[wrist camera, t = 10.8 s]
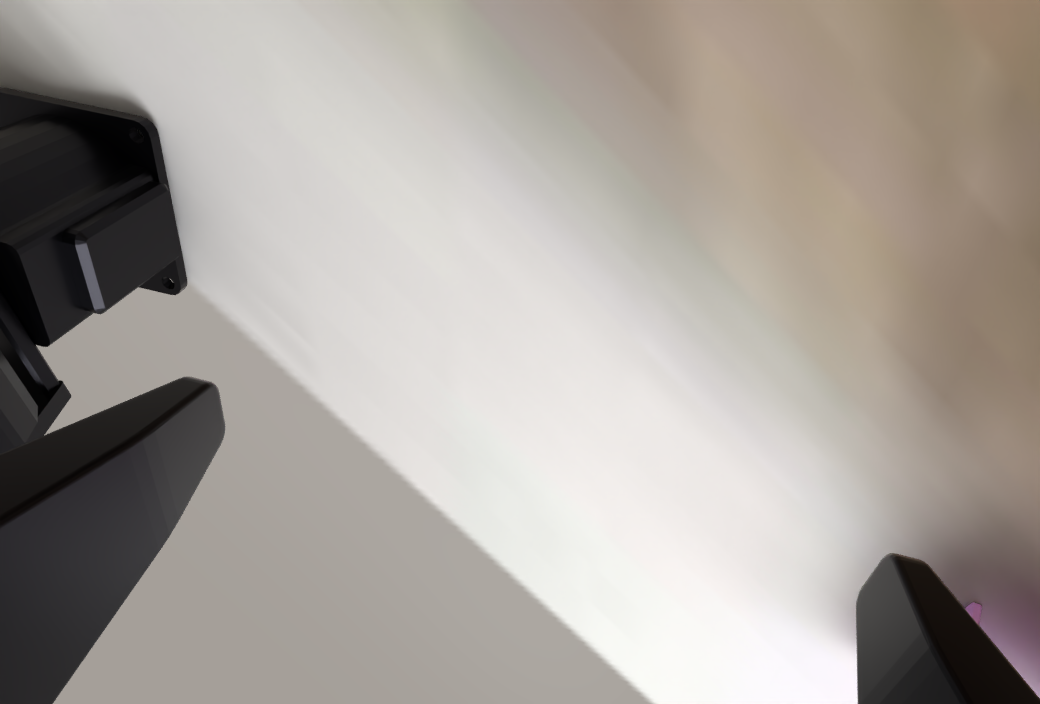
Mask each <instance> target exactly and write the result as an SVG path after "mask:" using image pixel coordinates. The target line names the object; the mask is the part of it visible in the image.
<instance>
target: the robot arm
mask: <svg viewBox="0 0 1040 704" xmlns="http://www.w3.org/2000/svg"><path fill="white" fill-rule="evenodd" d="M137 129H138V130H139V131H140V132H141V133H142V134H143V137H144V138H142V137H141V136H140V135H139V133H138V131H137ZM169 278H170V279H171V280H172V281H173V282H174V283H173V282H172V281H171V280H170V279H169ZM186 286H187V277H186V272H185V267H184V262H183V256H182V251H181V246H180V241H179V236H178V231H177V226H176V221H175V216H174V211H173V205H172V200H171V195H170V190H169V185H168V180H167V175H166V170H165V165H164V160H163V154H162V149H161V144H160V139H159V134H158V132H157V129H156V127H155V126H154V125H153V123H152V122H150V121H149V120H148V119H147V118H144V117H142V116H137V115H132V114H127V113H123V112H118V111H113V110H108V109H103V108H99V107H94V106H89V105H84V104H79V103H75V102H70V101H65V100H60V99H55V98H50V97H46V96H41V95H36V94H31V93H26V92H22V91H17V90H12V89H7V88H2V87H0V704H53V702H54V701H55V700H56V698H57V697H58V695H59V694H60V692H61V691H62V689H63V688H64V687H65V685H66V684H67V682H68V681H69V680H70V678H71V677H72V675H73V674H74V672H75V671H76V670H77V668H78V667H79V665H80V664H81V662H82V661H83V660H84V658H85V657H86V655H87V654H88V652H89V651H90V649H91V648H92V647H93V645H94V643H95V642H96V641H97V640H98V638H99V637H100V635H101V634H102V632H103V631H104V630H105V628H106V627H107V625H108V624H109V622H110V621H111V620H112V618H113V617H114V615H115V614H116V612H117V611H118V609H119V608H120V607H121V605H122V604H123V602H124V601H125V599H126V598H127V597H128V595H129V594H130V592H131V591H132V589H133V588H134V586H135V585H136V584H137V582H138V581H139V580H140V578H141V577H142V575H143V574H144V572H145V571H146V570H147V568H148V566H149V565H150V564H151V562H152V561H153V560H154V558H155V557H156V555H157V554H158V552H159V551H160V550H161V548H162V547H163V545H164V543H165V542H166V541H167V539H168V538H169V536H170V534H171V533H172V531H173V529H174V528H175V526H176V524H177V523H178V521H179V519H180V517H181V516H182V514H183V512H184V510H185V508H186V506H187V505H188V503H189V501H190V499H191V497H192V495H193V494H194V492H195V490H196V488H197V486H198V485H199V483H200V481H201V479H202V477H203V476H204V474H205V472H206V470H207V468H208V466H209V465H210V463H211V461H212V459H213V458H214V456H215V454H216V452H217V450H218V448H219V447H220V445H221V443H222V440H223V438H224V433H225V421H224V416H223V411H222V405H221V400H220V395H219V390H218V388H217V386H216V385H215V384H214V383H212V382H209V381H205V380H201V379H197V378H193V377H183V378H181V379H178V380H175V381H173V382H170V383H168V384H166V385H163V386H161V387H159V388H156V389H154V390H151V391H149V392H147V393H144V394H142V395H139V396H137V397H135V398H132V399H130V400H128V401H125V402H123V403H120V404H118V405H116V406H113V407H111V408H109V409H106V410H104V411H101V412H99V413H97V414H94V415H92V416H90V417H88V418H85V419H83V420H80V421H78V422H75V423H73V424H71V425H68V426H66V427H63V428H61V429H59V430H56V431H54V432H52V433H50V434H47V435H45V436H44V434H45V433H46V432H47V430H48V429H49V427H50V426H51V425H52V423H53V422H54V420H55V419H56V417H57V416H58V415H59V413H60V412H61V410H62V409H63V408H64V406H65V405H66V403H67V402H68V401H69V399H70V398H71V394H70V393H69V391H68V389H67V388H66V386H65V385H64V383H63V381H58V379H57V378H56V376H55V375H54V373H53V372H52V370H51V369H50V367H49V365H48V364H47V362H46V361H45V359H44V357H43V356H42V354H41V353H40V351H39V350H38V348H37V346H36V345H39V346H43V347H48V346H49V345H50V344H52V343H53V342H55V341H56V340H57V339H59V338H60V337H62V336H63V335H64V334H66V333H67V332H68V331H69V330H71V329H73V328H74V327H75V326H77V325H78V324H79V323H81V322H82V321H83V320H85V319H86V318H88V317H89V316H90V315H92V314H93V313H97V314H102V313H104V312H106V311H107V310H108V309H110V308H111V307H112V306H113V305H115V304H116V303H118V302H119V301H120V300H122V299H123V298H124V297H126V296H127V295H128V294H130V293H131V292H132V291H133V290H135V289H136V288H138V287H141V288H144V289H149V290H153V291H158V292H162V293H166V294H170V295H176V294H178V293H180V292H181V291H182V290H184V289H185V287H186ZM856 636H857V690H858V704H1040V698H1039V697H1038V696H1037V695H1036V694H1035V692H1034V691H1033V690H1032V689H1031V688H1030V686H1029V685H1028V684H1027V683H1026V682H1025V680H1024V679H1023V678H1022V677H1021V676H1020V674H1019V673H1018V672H1017V671H1016V669H1015V668H1014V667H1013V666H1012V665H1011V663H1010V662H1009V661H1008V660H1007V659H1006V657H1005V656H1004V655H1003V654H1002V653H1001V651H1000V650H999V649H998V648H997V647H996V645H995V644H994V643H993V642H992V641H991V639H990V638H989V637H988V636H987V635H986V633H985V632H984V631H983V630H982V629H981V627H980V626H979V625H978V624H977V623H976V621H975V620H974V619H973V618H972V617H971V615H970V614H969V613H968V612H967V611H966V609H965V608H964V607H963V606H962V605H961V603H960V602H959V601H958V600H957V599H956V597H955V596H954V595H953V594H952V593H951V591H950V590H949V589H948V588H947V587H946V585H945V584H944V583H943V582H942V581H941V579H940V578H939V577H938V576H937V575H936V573H935V572H934V571H933V570H932V569H931V567H930V566H929V565H928V564H926V563H925V562H923V561H921V560H919V559H915V558H911V557H907V556H903V555H899V554H895V553H890V554H888V555H886V556H885V557H884V558H883V559H882V560H881V561H880V563H879V564H878V566H877V567H876V568H875V570H874V571H873V573H872V574H871V576H870V577H869V578H868V580H867V581H866V583H865V584H864V585H863V587H862V588H861V590H860V592H859V595H858V598H857V603H856Z"/></svg>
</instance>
